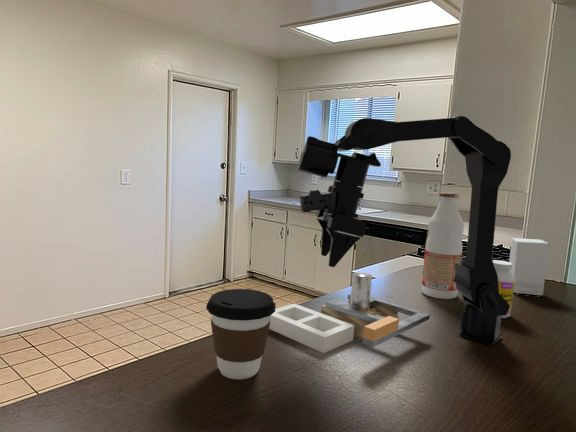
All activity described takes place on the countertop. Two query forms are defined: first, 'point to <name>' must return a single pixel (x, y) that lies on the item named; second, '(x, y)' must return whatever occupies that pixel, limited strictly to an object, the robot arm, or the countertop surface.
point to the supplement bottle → (505, 282)
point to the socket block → (358, 322)
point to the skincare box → (528, 265)
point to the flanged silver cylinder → (362, 292)
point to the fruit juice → (443, 248)
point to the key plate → (371, 318)
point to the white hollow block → (311, 327)
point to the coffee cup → (240, 330)
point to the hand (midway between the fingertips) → (327, 260)
